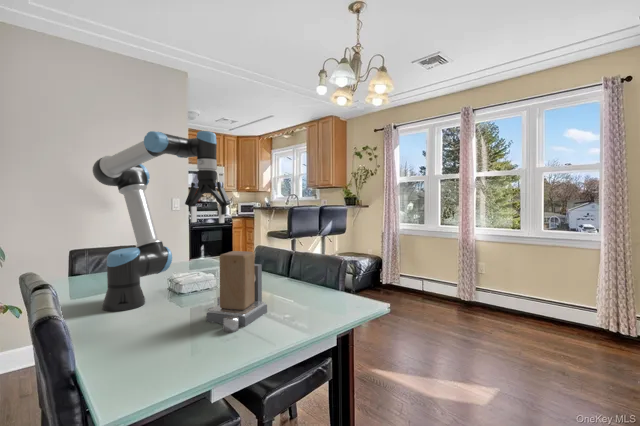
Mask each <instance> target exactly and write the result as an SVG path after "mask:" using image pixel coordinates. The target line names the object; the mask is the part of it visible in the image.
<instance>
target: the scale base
mask: <svg viewBox="0 0 640 426" xmlns="http://www.w3.org/2000/svg"><path fill="white" fill-rule="evenodd" d="M262 269H263V267H262V264H258V263H254V279H255V301H260V302H263V301H262V300H263V290H262V289H263V286H262V285H263V279H262V275H263V273H262V272H263V271H262ZM266 312H267V313H268V304H266V303H265V305H264V306H262V307H261V308H259V309H257V310H256V311H254V312H253V313H251V314H249V315H248V316H246V317H239V316H237V317H239V327H244V328H245V327H247V326H248V325H250V324H252V323H253V322H255V321H256V320H257V319H259V318H261V317H262V316H263V314H264V315H266ZM227 316H231V315H223V314H216V313H209V311H208V312H206V322H209V323H215V324H216V323H217V324H223V318H225V317H227Z"/></svg>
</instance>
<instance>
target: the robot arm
mask: <svg viewBox="0 0 640 426" xmlns="http://www.w3.org/2000/svg"><path fill="white" fill-rule="evenodd" d="M217 144H218V142H217V135H216V133H215V132H213V131H209V130H200V131H197V133H196V137H194V138H185V137H181V136H177V135H173V134H168V133H166V132H165V133H164V132H161V131H155V130H152V131H148V132H147V133H146V135H145V136H144V137H143V141H140V142H138V143H136V144H134V145H132V146H129V147H127V148H126V149H123V150H122V151H119V152H117V153H114V154H112V155H105V156H103V157H100V158H98V159H97V160H96V161H95V162H94V163H93V166H92V174H93V176H94V178H95V180H97V181H98V182H99V183H100V184H102V185H105V186H108V187H111V186H112V187H117V190H118V193H120V194H121V195H123V196H124V200H125V204H126V209H127V211H128V216H129V219H130V223H131V226H132V230H133V234H134V238H135V242H136V246H135V247H127V248H120V249H119V248H118V249H116V250H113V251H110V252H109V253H108V255H107V257H106V273H107V274H106V278H107V281H106V282H107V283H106V284H107V290H106V293H105V296H104V300H103V302H102V310H103V311H105V312H106V311H107V312H123V311H129V310H133V309H137V308H140V307H141V306H143V305H145V303H146V297H145V295H144V292H143V289H142V286H141V278H143V277H146V276H151V275H157V274H161V273H164V272H166V271H167V270H168V269H169V268H171V265H172V261H173V254H172V251H171V249H170V248H169V247H167V246H165V245H164V243H163V241H162V240H160V239H159V238H158V236H157V235H158V234H157V231H156V228H155V225H154V220H153V217H152V213H151V211H150V207H149V203H148V200H147V199H148V198H147V196H146V195H147V194H146V193H145V192H146V190H147V188H148V185H149V183H150V173H149V170H148V169H147V167H146V166H145V165H144V163H146V162H149V161H150V160H153V159H155V158H157V157H161V156H162V155H172V156H176V157H177V158H182V159H183V158H184V159H188V158H196V161H197V162H196V166H197V167H196V169H197V173H196V174H197V175H196V177H197V178H196V179H197V181H198V182H191V185H190V189H189V192H188V195H187V196H186V200H185V202H184V205H186V206H188V207H189V208H188V209H189V210H188V211H189V215H190V223H198V212H197V211H198V210H197V209H198V208H197V206H196V204H197V203H198V202H199V200H200V199H201V198H202V196H203V195H204V194H211V195H212V196H213V198H214V199H215V200H216V201H217V203H218V204H219V205H220V206H218V223H219V224H225V215H226V214H227V208H226V207H227V206H230V205H231V202H230V199H229V196H228V194H227V192H226V190H225V188H224V182H223V181H217V179H218V177H217V176H218V173H217V169H218V163H217V162H218V160H217V149H218V148H217V147H218V145H217Z"/></svg>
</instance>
